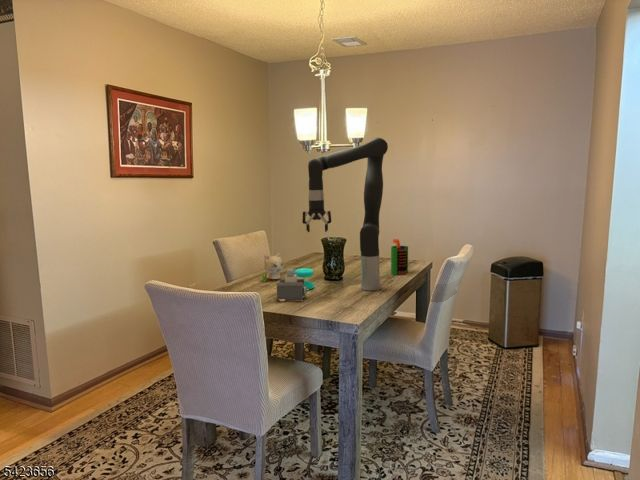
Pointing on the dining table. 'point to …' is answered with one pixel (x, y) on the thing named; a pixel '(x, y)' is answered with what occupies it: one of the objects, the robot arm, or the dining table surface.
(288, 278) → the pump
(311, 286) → the donuts
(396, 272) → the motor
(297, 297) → the motor housing
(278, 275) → the kitten
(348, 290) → the dining table surface
